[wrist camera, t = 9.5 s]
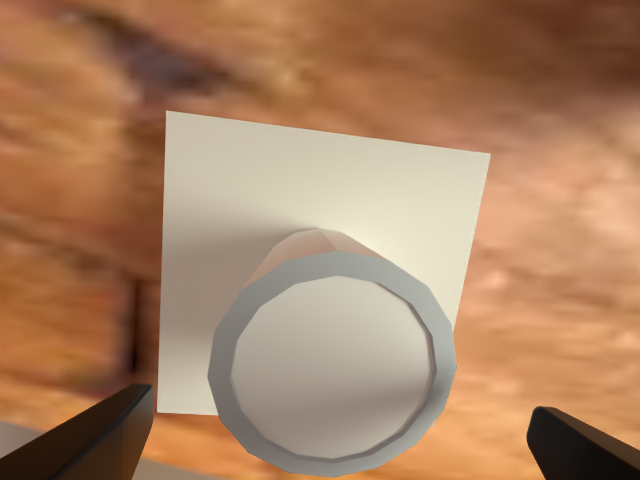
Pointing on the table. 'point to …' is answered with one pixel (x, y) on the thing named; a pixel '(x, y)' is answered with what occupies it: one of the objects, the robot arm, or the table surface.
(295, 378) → the white cup
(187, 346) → the base block
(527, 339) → the table surface
